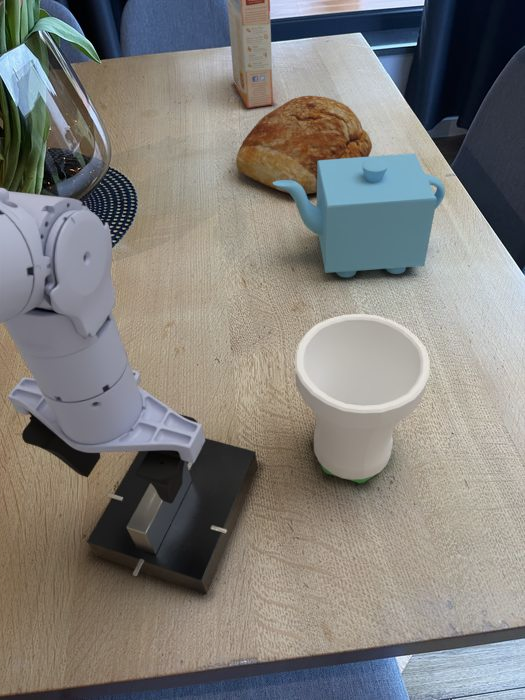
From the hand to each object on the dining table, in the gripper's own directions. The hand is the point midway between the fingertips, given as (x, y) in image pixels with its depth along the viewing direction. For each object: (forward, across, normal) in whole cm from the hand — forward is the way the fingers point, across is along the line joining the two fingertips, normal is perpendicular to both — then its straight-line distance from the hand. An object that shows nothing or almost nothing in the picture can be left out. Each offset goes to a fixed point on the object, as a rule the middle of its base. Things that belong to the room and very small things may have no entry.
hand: (131, 478), depth 45 cm
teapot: (+9, -8, -46) cm, 47 cm away
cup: (+9, -16, -14) cm, 23 cm away
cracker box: (+9, +25, -94) cm, 98 cm away
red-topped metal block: (+6, -2, -1) cm, 6 cm away
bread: (+9, +7, -67) cm, 68 cm away
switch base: (+9, -2, -3) cm, 10 cm away
